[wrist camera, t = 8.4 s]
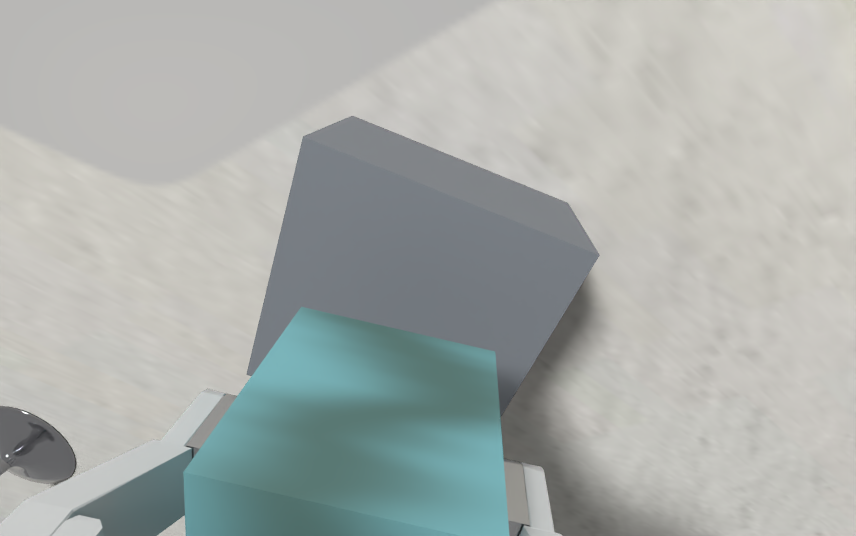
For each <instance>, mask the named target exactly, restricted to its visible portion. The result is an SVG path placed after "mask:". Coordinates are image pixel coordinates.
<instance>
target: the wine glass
mask: <svg viewBox="0 0 856 536" xmlns="http://www.w3.org/2000/svg"><path fill="white" fill-rule="evenodd" d="M75 467H76V460H75V456H74V453H73V451H72V449H71V447H70V446H69V444H68V443H67V441H66V440H65V439H64V438H63V436H62V435H61V434H60V433H59V432H58V431H57V430H55V429H54V428H53V427H52V426H50V425H49V424H48V423H46V422H45V421H43V420H42V419H40V418H38V417H37V416H34V415H32V414H30V413H28V412H25V411H22V410H20V409H16V408H12V407H5V406H0V475H2V474H3V473H4V472H6V471H9V472H10V473H12V474H14V475H16V476H18V477H21V478H23V479H26V480H29V481H33V482H37V483H44V484H54V483H59V482H62V481H64V480H67V479H68V478H69V477H70V476H71V475H72V474H73V473H74V470H75Z"/></svg>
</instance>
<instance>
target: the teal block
mask: <svg viewBox="0 0 856 536" xmlns="http://www.w3.org/2000/svg"><path fill="white" fill-rule="evenodd" d="M183 476H184V501H185V526H186V536H509V524H508V511H507V498H506V485H505V471H504V458H503V445H502V432H501V419H500V406H499V393H498V380H497V367H496V354H495V351H491V350H486V349H482V348H478V347H473V346H469V345H465V344H460V343H456V342H452V341H447V340H443V339H439V338H434V337H430V336H426V335H422V334H417V333H413V332H409V331H404V330H400V329H396V328H391V327H387V326H383V325H378V324H374V323H370V322H365V321H361V320H357V319H352V318H348V317H344V316H339V315H335V314H331V313H327V312H322V311H318V310H314V309H309V308H305V307H301V308H300V309H299V311H298V312H297V313H296V315H295V316H294V318H293V319H292V320H291V322H290V323H289V325H288V326H287V327H286V329H285V330H284V332H283V333H282V334H281V336H280V337H279V339H278V340H277V341H276V343H275V344H274V346H273V347H272V348H271V350H270V351H269V353H268V354H267V355H266V357H265V358H264V360H263V361H262V362H261V364H260V365H259V367H258V368H257V369H256V371H255V372H254V374H253V375H252V377H251V378H250V379H249V381H248V382H247V384H246V385H245V386H244V388H243V389H242V391H241V392H240V393H239V395H238V396H237V398H236V399H235V400H234V402H233V403H232V405H231V406H230V407H229V409H228V410H227V412H226V413H225V414H224V416H223V417H222V419H221V420H220V421H219V423H218V424H217V426H216V427H215V428H214V430H213V431H212V433H211V434H210V435H209V437H208V438H207V440H206V441H205V442H204V444H203V445H202V447H201V448H200V449H199V451H198V452H197V454H196V455H195V456H194V458H193V459H192V461H191V462H190V463H189V465H188V466H187V468H186V469H185V470H184V472H183Z"/></svg>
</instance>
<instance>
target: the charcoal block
mask: <svg viewBox="0 0 856 536" xmlns="http://www.w3.org/2000/svg"><path fill="white" fill-rule="evenodd" d="M598 257H599V253H598V252H597V250H596V248H595V247H594V245H593V243H592V242H591V240H590V239H589V237H588V235H587V234H586V232H585V230H584V229H583V227H582V225H581V224H580V222H579V220H578V219H577V217H576V216H575V214H574V212H573V211H572V209H571V207H570V206H569V204H568V203H567V202H564V201H562V200H559V199H557V198H554V197H552V196H549V195H547V194H544V193H542V192H540V191H537V190H535V189H532V188H530V187H527V186H525V185H522V184H520V183H517V182H515V181H512V180H510V179H507V178H505V177H502V176H500V175H498V174H495V173H493V172H490V171H488V170H485V169H483V168H480V167H478V166H475V165H473V164H470V163H468V162H465V161H463V160H461V159H458V158H456V157H453V156H451V155H448V154H446V153H443V152H441V151H438V150H436V149H433V148H431V147H428V146H426V145H424V144H421V143H419V142H416V141H414V140H411V139H409V138H406V137H404V136H401V135H399V134H396V133H394V132H391V131H389V130H387V129H384V128H382V127H379V126H377V125H374V124H372V123H369V122H367V121H364V120H362V119H359V118H357V117H354V116H351V117H348V118H346V119H344V120H341V121H339V122H337V123H334V124H332V125H329V126H327V127H325V128H322V129H320V130H318V131H315V132H313V133H311V134H308V135H306V136H303V139H302V144H301V148H300V152H299V156H298V160H297V165H296V169H295V173H294V177H293V181H292V186H291V190H290V194H289V198H288V202H287V207H286V211H285V215H284V219H283V223H282V228H281V232H280V236H279V240H278V244H277V249H276V253H275V257H274V261H273V265H272V270H271V274H270V278H269V282H268V286H267V291H266V295H265V299H264V303H263V307H262V312H261V316H260V320H259V324H258V328H257V333H256V337H255V341H254V345H253V349H252V354H251V358H250V362H249V366H248V370H247V375H250V376H252V375H253V374H254V372H255V371H256V369H257V368H258V367H259V365H260V364H261V362H262V361H263V360H264V358H265V357H266V355H267V354H268V353H269V351H270V350H271V348H272V347H273V346H274V344H275V343H276V341H277V340H278V339H279V337H280V336H281V334H282V333H283V332H284V330H285V329H286V327H287V326H288V325H289V323H290V322H291V320H292V319H293V318H294V316H295V315H296V313H297V312H298V311H299V309H300V308H301V307H305V308H309V309H314V310H318V311H322V312H327V313H331V314H335V315H339V316H344V317H348V318H352V319H357V320H361V321H365V322H370V323H374V324H378V325H383V326H387V327H391V328H396V329H400V330H404V331H409V332H413V333H417V334H422V335H426V336H430V337H434V338H439V339H443V340H447V341H452V342H456V343H460V344H465V345H469V346H473V347H478V348H482V349H486V350H491V351H495V354H496V367H497V380H498V393H499V406H500V417H501V416H502V414H503V413H504V411H505V409H506V408H507V406H508V404H509V403H510V401H511V399H512V398H513V396H514V394H515V393H516V391H517V390H518V388H519V386H520V385H521V383H522V381H523V380H524V378H525V376H526V375H527V373H528V372H529V370H530V368H531V367H532V365H533V363H534V362H535V360H536V358H537V357H538V355H539V354H540V352H541V350H542V349H543V347H544V345H545V344H546V342H547V340H548V339H549V337H550V336H551V334H552V332H553V331H554V329H555V327H556V326H557V324H558V322H559V321H560V319H561V318H562V316H563V314H564V313H565V311H566V309H567V308H568V306H569V304H570V303H571V301H572V300H573V298H574V296H575V295H576V293H577V291H578V290H579V288H580V286H581V285H582V283H583V282H584V280H585V278H586V277H587V275H588V273H589V272H590V270H591V268H592V267H593V265H594V264H595V262H596V260H597V259H598Z"/></svg>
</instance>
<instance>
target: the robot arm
mask: <svg viewBox="0 0 856 536" xmlns="http://www.w3.org/2000/svg"><path fill="white" fill-rule="evenodd" d="M236 398H237V396H235V395H231V394H226V393H222V392H218V391H214V390H211V389H206V390H204V391H202V392H201V393H200V394H199V395H198V396H197V397H196V398H195V400H194V401H193V402H192V403H191V404H190V406H189V407H188V408H187V409H186V410H185V412H184V413H183V414H182V415H181V416H180V418H179V419H178V420H177V421H176V422H175V424H174V425H173V426H172V427H171V428H170V430H169V431H168V432H167V433H166V434H165V436H164V437H163V438H162V439H161V440H155V439H153V440H151V441H149V442H147V443H145V444H143V445H140V446H138V447H136V448H134V449H132V450H130V451H128V452H126V453H123V454H121V455H119V456H117V457H115V458H113V459H111V460H109V461H106V462H104V463H102V464H100V465H98V466H96V467H94V468H92V469H89V470H87V471H85V472H83V473H81V474H79V475H77V476H74V477H72V478H70V479H68V480H66V481H64V482H62V483H60V484H57V485H55V486H53V487H51V488H49V489H47V490H45V491H43V492H40V493H38V494H36V495H34V496H32V497H30V498H28V499H26V500H24V501H23V502H22V503H21V504H20V505H19V506H18V507H17V508H16V509H15V510H14V511H13V512H12V513H11V514H10V515H9V516H8V517H7V518H6V519H5V520H4V521H3V522H2V523H1V524H0V536H157V535H158V534H159V533H161V532H162V531H164V530H165V529H166V528H168V527H169V526H170V525H172V524H173V523H174V522H176V521H177V520H179V519H180V518H181V517H183V516H184V515H185V501H184V476H183V472H184V470H185V469H186V468H187V466H188V465H189V463H190V462H191V461H192V459H193V458H194V456H195V455H196V454H197V452H198V451H199V449H200V448H201V447H202V445H203V444H204V442H205V441H206V440H207V438H208V437H209V435H210V434H211V433H212V431H213V430H214V428H215V427H216V426H217V424H218V423H219V421H220V420H221V419H222V417H223V416H224V414H225V413H226V412H227V410H228V409H229V407H230V406H231V405H232V403H233V402H234V400H235V399H236ZM504 471H505V485H506V498H507V511H508V524H509V536H562V534H559V533H555V530H554V524H553V519H552V513H551V507H550V502H549V496H548V490H547V484H546V479H545V473H544V470H543V468H542V467H540V466H536V465H531V464H527V463H522V462H519V461H514V460H509V459H505V458H504Z"/></svg>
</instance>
